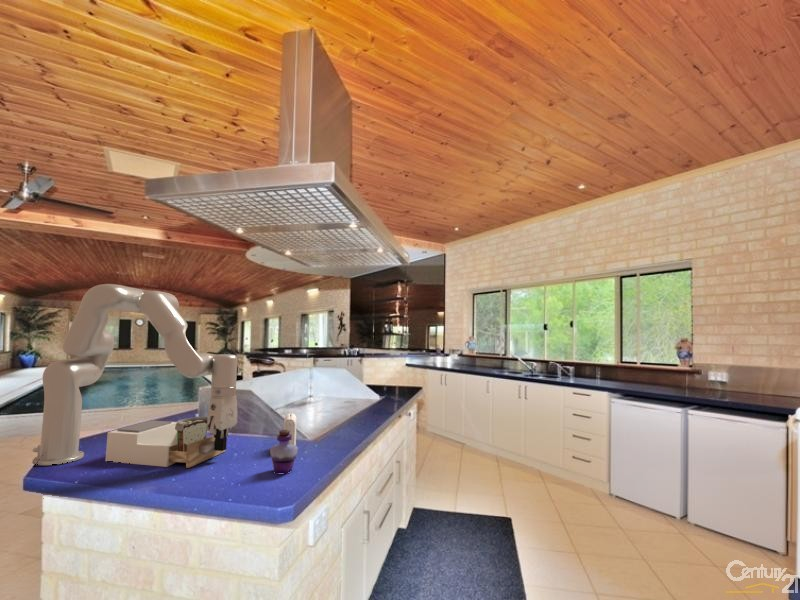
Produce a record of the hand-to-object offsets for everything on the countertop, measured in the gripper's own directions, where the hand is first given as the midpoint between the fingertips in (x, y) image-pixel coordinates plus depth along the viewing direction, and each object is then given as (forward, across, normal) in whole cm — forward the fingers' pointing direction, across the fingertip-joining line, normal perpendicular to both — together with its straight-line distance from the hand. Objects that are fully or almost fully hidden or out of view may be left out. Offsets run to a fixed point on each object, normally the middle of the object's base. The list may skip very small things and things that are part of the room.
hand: (220, 449), depth 133 cm
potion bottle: (+4, -4, -24) cm, 25 cm away
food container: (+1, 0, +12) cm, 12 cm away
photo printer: (+4, +18, -15) cm, 24 cm away
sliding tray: (+3, 0, +9) cm, 9 cm away
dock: (+3, 0, +23) cm, 23 cm away
